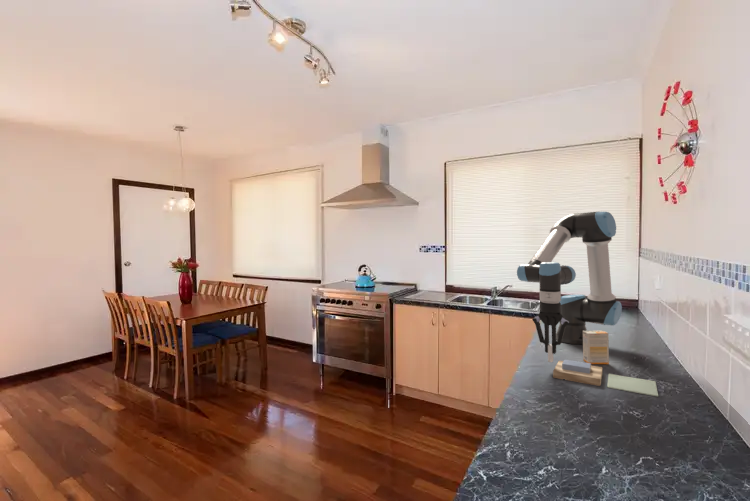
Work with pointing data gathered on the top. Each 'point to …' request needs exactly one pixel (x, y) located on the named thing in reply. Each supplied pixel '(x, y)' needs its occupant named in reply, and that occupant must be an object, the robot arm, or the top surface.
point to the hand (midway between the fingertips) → (550, 361)
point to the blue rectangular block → (576, 366)
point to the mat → (632, 384)
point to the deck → (579, 375)
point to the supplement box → (595, 347)
